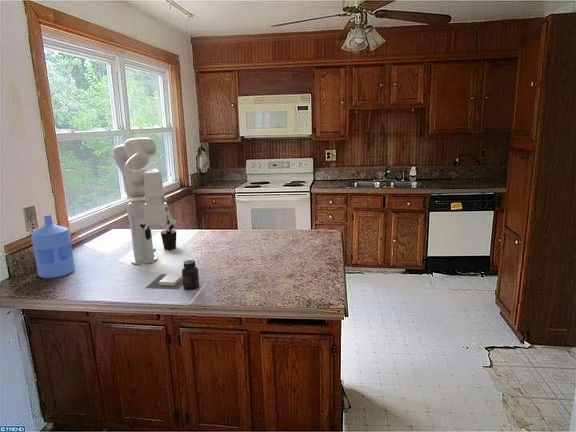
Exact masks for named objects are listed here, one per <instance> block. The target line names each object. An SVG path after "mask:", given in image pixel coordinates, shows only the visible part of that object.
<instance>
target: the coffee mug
mask: <svg viewBox="0 0 576 432" xmlns="http://www.w3.org/2000/svg"><path fill="white" fill-rule="evenodd" d="M166 231H167V230H166V229H163V230H161V231H160V236H161V241H162V245H163V249H164V251H173V250H175V249H176V248H177V229H174V228H173V229H172V230H171V231H172V237H171V239H170V240H167V236H166Z"/></svg>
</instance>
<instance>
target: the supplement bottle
mask: <svg viewBox="0 0 576 432" xmlns="http://www.w3.org/2000/svg"><path fill="white" fill-rule="evenodd" d="M181 274H182V279H183V285H182V289H183V290H185V291H194V290H195V291H196V290H197V289H199V288H200V276H199V274H200V273H199V268H198V267H197V266H196V260H195V259H194V260H193V259H189V260H184V261H183V268H182V269H181Z"/></svg>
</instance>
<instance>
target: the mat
mask: <svg viewBox="0 0 576 432" xmlns="http://www.w3.org/2000/svg"><path fill="white" fill-rule="evenodd" d="M167 274H168V273H160V274H159V275H158V276H157V277H156V278H155V279H154V280H153V281H152V282H150V283H149V284H148V285H147V286H146V287H145V289H150V290H151V289H154V290H155V289H156V290H158V289H159V290H180V288H181V287H183V279H181V280H180V281H179V282H178V283H177V284H176V285H175V286H173V285H159V281H161V280H162V279H163V278H164V277H165V276H166V275H167Z"/></svg>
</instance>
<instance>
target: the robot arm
mask: <svg viewBox="0 0 576 432" xmlns="http://www.w3.org/2000/svg"><path fill="white" fill-rule="evenodd" d="M156 144H157V143H156V142H155V140H153V139H152V138H151V137H135V138H128V139H127V140H125V141H124V143H123V144H120V145H116V146H115V147H114V149H113V156H114V157H113V158H114V160H115V163H116V165H117V167H118V169H119V170H120V172H121V175H122V180H123V184H124V188H125V193H126V196H127V197H128V198H129V199H131V200H133V201H130V202H128V203H127V205H126V207H125V208H126V214H127V217H128V220H129V227H130V232H131V241H132V251H133V258H131V260H130V262H131V264H133V265H136V266H137V265H138V266H140V265H148V264H149V265H150V264H152V263H154V262H156V261H158V256H157V255H155V254H154V253H155V252H156V251H157V248H154V246H153V244H154V243H153V236H152V227H154V228H156V227H157V228H158V227H159V228H160V227H161V228H162V227H163V228H164V229H165V230H167V231H166V236H167V240H170V239H171V237H172V231H171V230H172V229H174V228H175V226H176V224H177V222H178V221H177V220H176V219H174V218H173V217H171V216H170V214H171V213H170V210H169V207H168V203H167V202H166V201H167V200H168V197H165V194H164V183H163V174H162V172H161V171H160V170H159V169H158V168H145V167H147V165H148V164H149V162H150V160H151V159H152V158H154V156H155V155H156V153H157V145H156ZM144 198H145V199H144ZM137 199H139V200H137Z"/></svg>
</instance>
